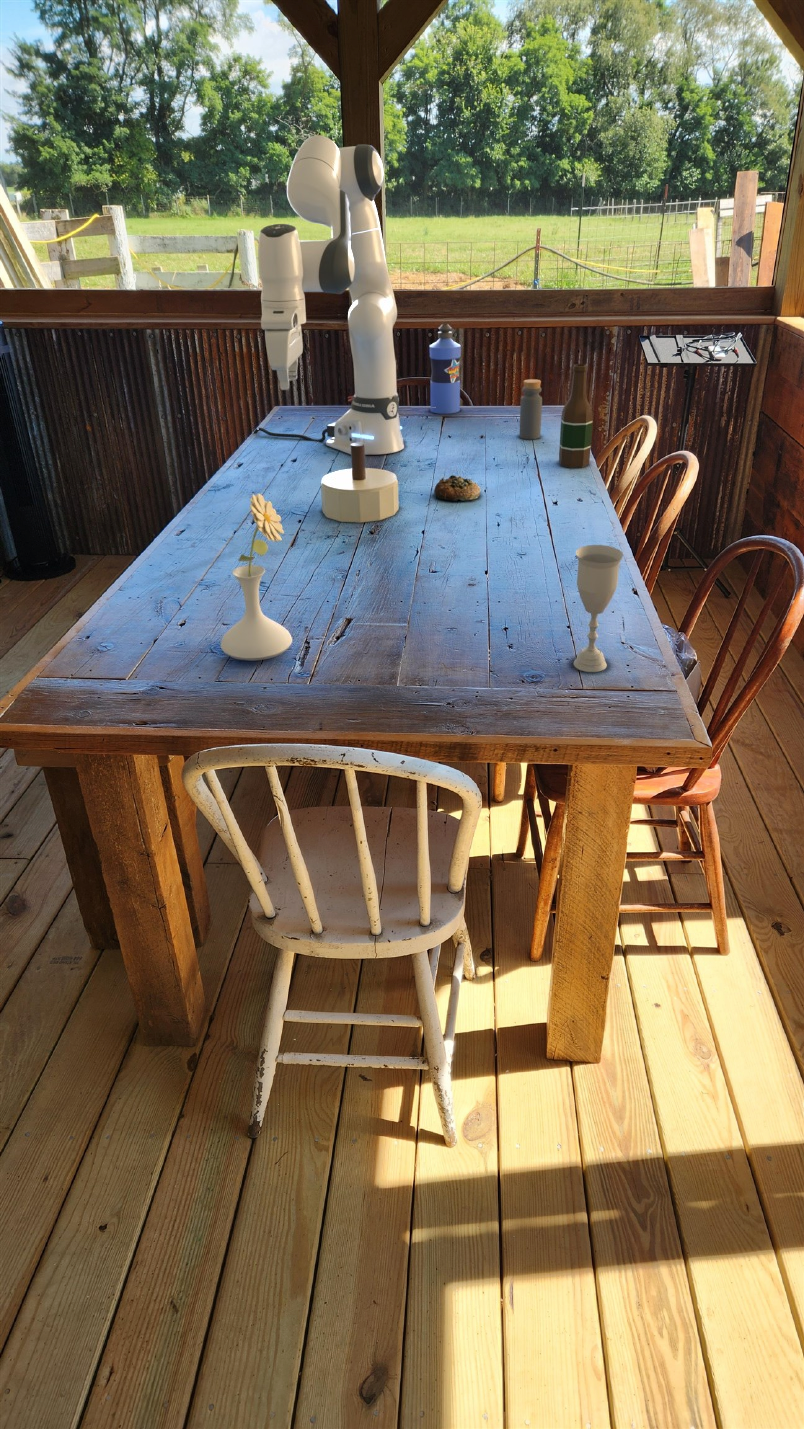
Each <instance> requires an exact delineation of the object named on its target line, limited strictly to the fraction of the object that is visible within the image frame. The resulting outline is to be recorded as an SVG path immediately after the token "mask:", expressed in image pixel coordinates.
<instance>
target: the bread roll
mask: <svg viewBox="0 0 804 1429" xmlns="http://www.w3.org/2000/svg"><path fill="white" fill-rule="evenodd" d="M481 491H482V489H481V487H480V486H479V485H478V483H477V482H474V481H473V480H471V479H469V478H463V477H462V476H460V475H459V476H457V475H453V474H452V475H450V476H449V477H448V478H446V479H445V478H444V477H442V478H441V479H439V481H438V482H437V483H436V484H435V486H434V494H435V498H436V499H439V500H443V501H444V500H445V501H451V502H454V501H455V502H456V501H458V500H460V501H462V502H463V501H472V500H476V499H478V498H479V497H480V494H481V493H482V492H481Z"/></svg>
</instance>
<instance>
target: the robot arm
mask: <svg viewBox="0 0 804 1429" xmlns="http://www.w3.org/2000/svg"><path fill="white" fill-rule="evenodd" d="M383 184H384V166H383V162H382V159H381V156H380V154H379V152H378V150H377V149H376V148H375V147H374V146H373V145H370V144H357V145H356V146H343V147H338V146H337V144H336V143H335V142H334V141H333V140H332V139H331V138H329V137H328V136H324V135H320V134H319V135H317V134H316V135H312V136H310V137H308V138H306V139H305V140H304V141H303V143H302V144H301V146H300V147H299V149H298V150H297V152H296V154H295V156H294V159H293V161H292V164H291V167H290V170H289V174H288V177H287V182H286V196H287V200H288V202H289V204H290V207H291V208H292V210H293V211H294V212H295V213H296V214H297V215H298V216H299V217H300V218H302V219H303V220H305V221H306V222H309V223H312V224H318V225H322V226H325V227H328V228H331V237H330V238H329V239H325V240H300V236H299V233H298V232H299V231H298V229H297V227H296V226H294V225H292V224H289V223H288V224H287V223H274V224H269V225H266V226H264V227H263V228H262V229H260V230H259V233H258V241H257V242H258V244H257V264H258V277H259V280H260V282H261V283H260V284H261V294H260V302H261V318H260V327H261V329H262V330H263V331H264V340H265V347H266V353H267V360H268V364H269V367H270V369H271V370H272V371H276V374H277V378H278V381H279V389H280V390H281V391H288V390H289V389H290V388H291V385H290V382H292V381H293V382H295V381H296V380H298V366H299V357H300V356H301V355H302V354H303V351H304V350H303V349H304V342H303V332H302V325H304V324H306V323H307V312H306V311H307V310H306V297H305V296H306V295H305V293H325V294H336V295H341V294H343V293H344V292H345V291H347V290H348V292H349V295H350V299H351V306H350V307H349V309H348V312H347V313H348V314H347V324H348V334H349V335H348V336H349V343H350V349H351V355H352V356H351V357H352V363H353V379H354V380H353V381H354V395H351V396H348V397H347V402H351V405H350V409H348V410H347V411H346V412H345V413H344V414H343V415H341V417H340V418H338V419H337V420H336V421H335V422H332V423H329V424H326V428H325V429H323V430H322V432H321V437H320V438H319V439H316V438H312V437H310V436H306V435H304V434H298V433H297V434H296V433H279V432H272V431H269V430H267V429H265V428H263V427H258V428H259V430H257V428H255V430H254V431H253V434H258V433H259V432H263V433H265V434H266V435H268V436H271V437H276V438H277V437H279V438H298V439H302V440H306V441H313V442H320V443H322V442H324V441H325V445H326V446H327V447H330V448H332V449H336V450H338V451H341V452H344V453H346V454H348V455H351V444H352V443H364V446H365V456H367V455H387V454H392V453H393V454H394V453H397V452H399V451H402V450H403V449H405V444H404V437H403V436H402V429H403V426H401V422H400V415H399V407H400V398H399V393H398V392H397V391H398V390H397V360H396V355H395V346H394V345H395V344H394V333H393V330H394V325H395V323H396V321H397V318H398V309H397V308H398V307H397V304H396V298H395V293H394V289H393V285H392V281H391V277H390V273H389V269H388V264H387V260H386V253H385V246H384V242H383V235H382V230H381V224H380V218H379V215H378V210H377V207H376V203H375V198H376V195H378V194H379V192H380V190H381V188H382V186H383ZM326 435H327V438H329V439H327V440H326Z"/></svg>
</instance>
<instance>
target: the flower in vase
mask: <svg viewBox="0 0 804 1429" xmlns="http://www.w3.org/2000/svg"><path fill="white" fill-rule="evenodd" d="M249 507H250V513H251V516H252V517H253V521H254V523H255V524H256V527H255V530H254V532H253V534H252V539H251V546H250V552H249V556H248V555H245V554H241V555H240V557H239V559H238V560H237V562H248V565H242V566H239V567H236V568H234V569H233V570H232V573H231V574H232V575H233V576H234V578H236V579H237V581H238V583H239V584H240V587H241V590H242V594H243V599H244V606H245V608H244V609H245V610H244V615H243V616H242V618H241V619H239V621H238V622H237V623H235V624H234V625H233V626H232V627H230V628H229V629H228V630H227V631H226V633H225V634H223V636H222V637H221V642H220V648H221V650H222V652H223V653H224V654H225V655H226V656H228V657H230V658H232V659H236V660H240V661H249V662H250V661H251V662H253V661H262V660H269V659H272V658H276V657H277V656H280V655H282V654H284V653H285V652H286V651H288V649H289V648H290V646H291V645H292V643H293V637H292V635H291V633H290V631H289V630H288V629H287V628H286V627H284V626H283V625H282V624H280V623H278V622H277V621H274V620H273V619H271V618H269V617H267V616H266V615H264V613H263V611H262V609H261V604H260V583H261V581H262V577H263V575H264V574H265V572H266V569H265V567H263V566H261V565H255V564H253V565H252V561H253V560H254V559H256V556H253V553H254V552H255V553H257V554H258V555H259V556H261V557H262V556H265V555H266V553H267V552H268V550H269V546H268V544H267V542H266V541H265V540H262V539H259V538H257V539H256V536H257V533H258V531H259V532H260V533H261V534H262V535H263V536H264V537H265V538H266V539H267V541H269V542H271V541H272V542H273V543H276V542H280V541H283V540H282V537H281V534H282V535H284V534H285V530H284V529H283V525H282V523H281V520H282V517H281V516H280V515H279V514H277V511H276V509H275V508H273V503H272V502H271V501H270V500H267V501H266V500H265V497H264V496H263V495H262V494H260V493H257V494H256V495H255V494H254V493H253V494H252V495H251V497H250V504H249Z"/></svg>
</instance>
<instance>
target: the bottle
mask: <svg viewBox="0 0 804 1429" xmlns="http://www.w3.org/2000/svg"><path fill="white" fill-rule="evenodd" d="M541 383H542V381H541V380H540V379H531V378H530V379H524V380H523V387H522V388H521V391H522V392H523V395H522V396H521V397H520V405H519V406H520V407H519V408H520V409H519V435H518V436H519V438H520V439H523V440H537V439H540V438H541V432H542V411H543V397H542V396H541V395H540V393H541V392H542V387H541Z"/></svg>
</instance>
